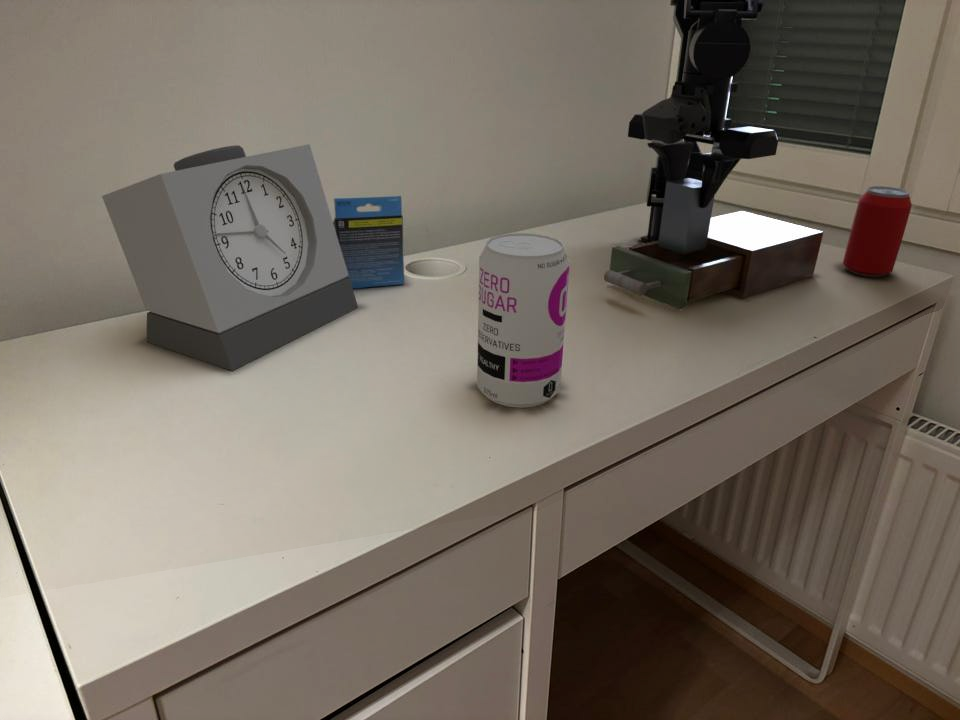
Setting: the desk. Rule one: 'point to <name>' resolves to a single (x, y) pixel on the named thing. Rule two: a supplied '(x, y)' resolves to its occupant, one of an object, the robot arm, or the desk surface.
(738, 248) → the cabinet
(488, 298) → the supplement can
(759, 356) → the desk surface
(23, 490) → the desk surface
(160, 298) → the alarm clock
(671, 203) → the steel block
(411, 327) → the desk surface
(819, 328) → the desk surface
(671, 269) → the rack drawer
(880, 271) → the beverage can
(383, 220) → the label tape box
